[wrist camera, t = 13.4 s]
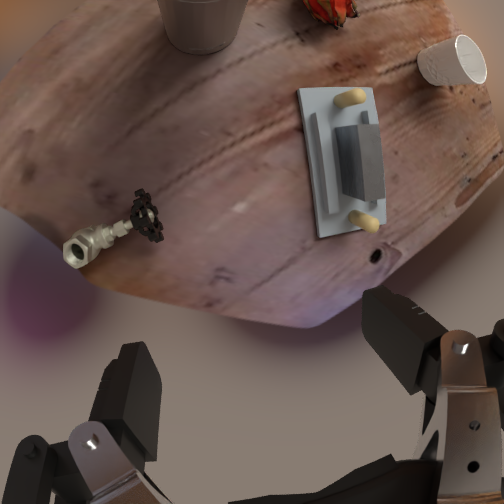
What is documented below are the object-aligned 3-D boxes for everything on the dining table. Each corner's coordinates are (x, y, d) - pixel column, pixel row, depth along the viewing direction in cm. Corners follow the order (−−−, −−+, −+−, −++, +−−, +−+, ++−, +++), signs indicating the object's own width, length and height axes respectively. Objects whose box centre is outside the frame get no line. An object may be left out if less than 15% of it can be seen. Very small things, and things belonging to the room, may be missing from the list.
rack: (296, 90, 33) (313, 79, 27) (368, 88, 34) (392, 82, 28) (317, 235, 40) (335, 249, 34) (382, 221, 41) (406, 232, 35)
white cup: (409, 68, 33) (451, 57, 24) (419, 38, 31) (459, 24, 22) (440, 97, 35) (483, 94, 26) (449, 67, 34) (489, 60, 24)
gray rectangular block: (334, 127, 34) (357, 124, 28) (354, 126, 34) (378, 123, 29) (342, 194, 37) (365, 201, 32) (361, 191, 38) (385, 198, 32)
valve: (92, 264, 36) (167, 232, 36) (74, 284, 30) (160, 248, 30) (72, 221, 33) (147, 185, 34) (50, 235, 27) (135, 191, 28)
